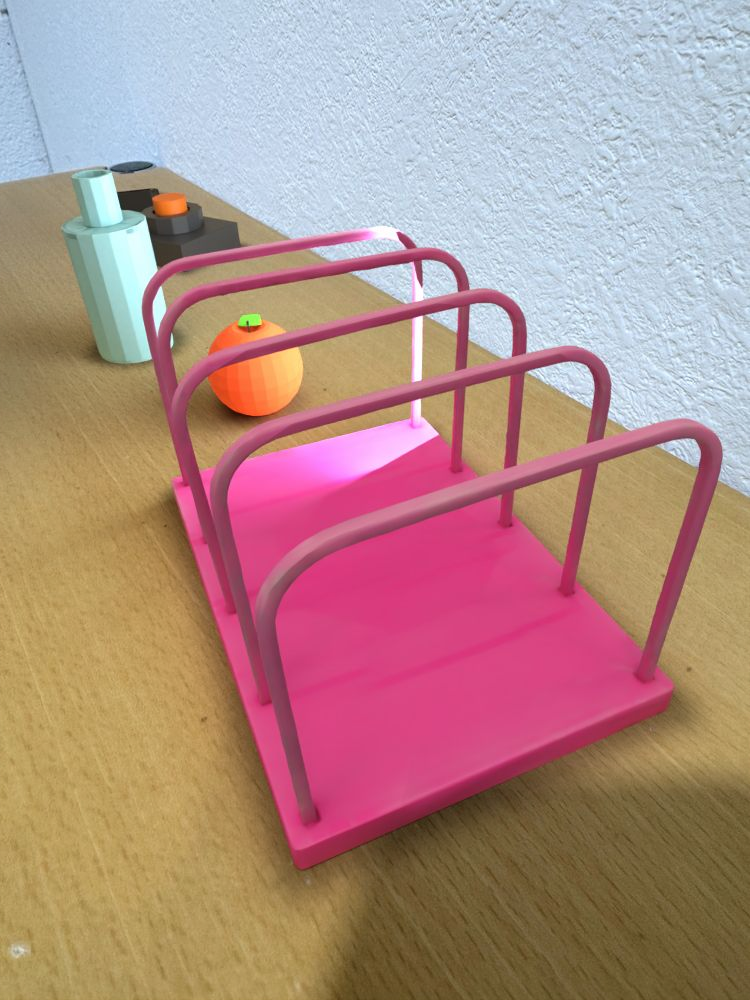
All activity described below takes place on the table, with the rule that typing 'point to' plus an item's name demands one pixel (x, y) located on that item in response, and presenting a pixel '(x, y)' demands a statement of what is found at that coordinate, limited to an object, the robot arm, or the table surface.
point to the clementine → (256, 370)
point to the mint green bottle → (112, 267)
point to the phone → (137, 199)
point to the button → (169, 204)
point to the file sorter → (405, 574)
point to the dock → (188, 234)
